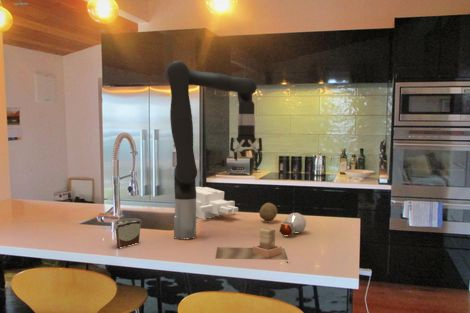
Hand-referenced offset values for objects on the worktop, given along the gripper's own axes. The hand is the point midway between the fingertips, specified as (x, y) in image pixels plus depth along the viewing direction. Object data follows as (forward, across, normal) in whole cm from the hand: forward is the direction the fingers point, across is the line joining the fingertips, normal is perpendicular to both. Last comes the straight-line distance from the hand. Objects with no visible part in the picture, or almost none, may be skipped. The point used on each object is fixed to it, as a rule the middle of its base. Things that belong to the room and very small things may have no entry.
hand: (245, 160), depth 193 cm
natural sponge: (+33, +12, +23) cm, 42 cm away
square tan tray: (+32, +8, -35) cm, 48 cm away
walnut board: (+33, +2, -35) cm, 48 cm away
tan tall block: (+32, +8, -35) cm, 48 cm away
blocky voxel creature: (+33, -17, +33) cm, 50 cm away
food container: (+33, -49, -21) cm, 63 cm away
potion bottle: (+33, +22, 0) cm, 40 cm away
